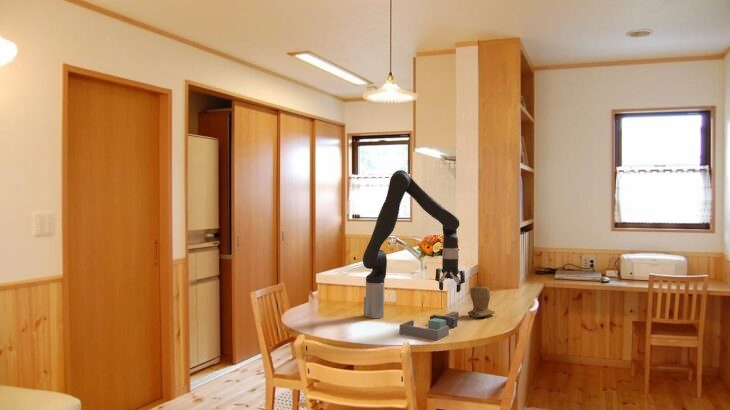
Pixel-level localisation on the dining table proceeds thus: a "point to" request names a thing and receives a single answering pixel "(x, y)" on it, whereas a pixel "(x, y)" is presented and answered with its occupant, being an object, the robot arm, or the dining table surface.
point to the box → (423, 331)
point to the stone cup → (480, 302)
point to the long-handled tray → (448, 318)
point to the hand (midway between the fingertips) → (449, 291)
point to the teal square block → (436, 323)
